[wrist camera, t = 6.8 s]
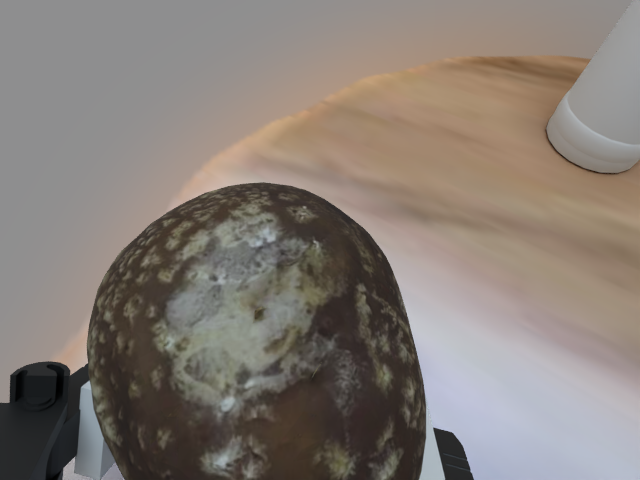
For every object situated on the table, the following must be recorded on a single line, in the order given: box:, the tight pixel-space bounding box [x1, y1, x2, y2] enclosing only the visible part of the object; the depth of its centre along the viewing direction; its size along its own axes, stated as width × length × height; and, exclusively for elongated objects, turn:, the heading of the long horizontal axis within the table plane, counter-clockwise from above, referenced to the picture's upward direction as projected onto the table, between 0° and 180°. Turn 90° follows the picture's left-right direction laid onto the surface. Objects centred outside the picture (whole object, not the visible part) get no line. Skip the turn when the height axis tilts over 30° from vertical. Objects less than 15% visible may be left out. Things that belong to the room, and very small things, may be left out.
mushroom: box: [87, 183, 426, 480], centre depth 14 cm, size 9×9×15 cm
